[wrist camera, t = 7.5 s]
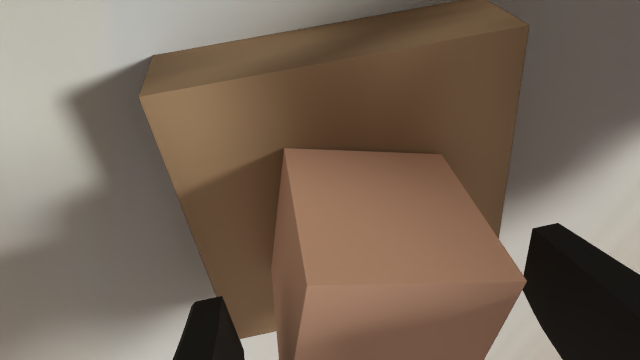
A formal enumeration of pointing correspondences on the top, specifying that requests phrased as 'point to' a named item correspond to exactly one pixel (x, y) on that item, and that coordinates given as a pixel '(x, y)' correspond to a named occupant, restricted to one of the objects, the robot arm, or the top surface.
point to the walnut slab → (329, 122)
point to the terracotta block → (385, 260)
